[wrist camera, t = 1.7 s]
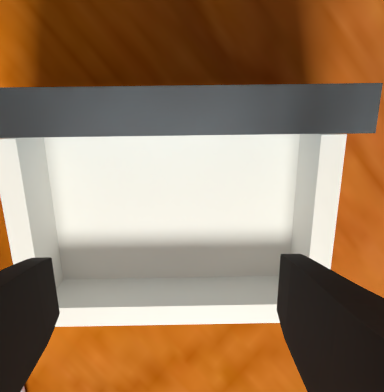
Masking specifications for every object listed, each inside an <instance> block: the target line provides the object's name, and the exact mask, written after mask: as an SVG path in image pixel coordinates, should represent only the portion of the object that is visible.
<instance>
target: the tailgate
mask: <svg viewBox="0 0 384 392" xmlns="http://www.w3.org/2000/svg"><path fill="white" fill-rule="evenodd" d="M382 84H383V83H354V84H270V85H186V86H102V87H18V88H0V138H34V137H110V136H187V135H263V134H339V133H375V132H376V125H377V118H378V111H379V104H380V97H381V90H382Z"/></svg>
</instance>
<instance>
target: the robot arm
mask: <svg viewBox="0 0 384 392" xmlns="http://www.w3.org/2000/svg"><path fill="white" fill-rule="evenodd" d="M277 313H278V317H279V321H280V325H281V328H282V331H283V335H284V338H285V341H286V343H287V345H288V348H289V350H290V353H291V355H292V357H293V359H294V362H295V364H296V366H297V369H298V371H299V373H300V376H301V378H302V380H303V382H304V385H305V387H306V389H307V391H308V392H384V298H382V297H380V296H378V295H376V294H374V293H372V292H370V291H368V290H366V289H364V288H363V287H361V286H359V285H357V284H355V283H353V282H351V281H350V280H348V279H346V278H344V277H342V276H341V275H339V274H337V273H335V272H334V271H332V270H330V269H328V268H327V267H325V266H323V265H321V264H320V263H318V262H316V261H314V260H312V259H311V258H309V257H307V256H305V255H302V254H281V256H280V269H279V283H278V297H277ZM59 314H60V311H59V305H58V298H57V291H56V285H55V278H54V271H53V264H52V258H51V257H44V258H30V259H26V260H24V261H21V262H19V263H16V264H14V265H12V266H10V267H7V268H5V269H3V270H1V271H0V392H25V389H24V385H25V383H26V381H27V379H28V378H29V376H30V374H31V372H32V371H33V369H34V367H35V365H36V364H37V362H38V360H39V358H40V357H41V355H42V353H43V351H44V349H45V348H46V346H47V344H48V342H49V340H50V337H51V335H52V332H53V330H54V327H55V325H56V322H57V320H58V317H59Z"/></svg>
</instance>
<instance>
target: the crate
mask: <svg viewBox="0 0 384 392" xmlns="http://www.w3.org/2000/svg"><path fill="white" fill-rule="evenodd" d="M346 137H347V134H343V133H339V134H263V135H187V136H110V137H34V138H0V196H1V201H2V207H3V212H4V218H5V223H6V228H7V234H8V239H9V244H10V250H11V255H12V261H13V265H14V264H16V263H19V262H21V261H24V260H26V259H30V258H44V257H51V258H52V264H53V271H54V278H55V285H56V291H57V298H58V305H59V311H60V314H59V317H58V320H57V322H56V325H55V327H64V326H121V325H177V324H233V323H280V321H279V317H278V313H277V297H278V283H279V269H280V256H281V254H302V255H305V256H307V257H309V258H311V259H312V260H314V261H316V262H318V263H320V264H321V265H323V266H325V267H327V268H328V269H331V261H332V252H333V244H334V236H335V228H336V219H337V211H338V203H339V195H340V187H341V178H342V170H343V162H344V154H345V145H346Z"/></svg>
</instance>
